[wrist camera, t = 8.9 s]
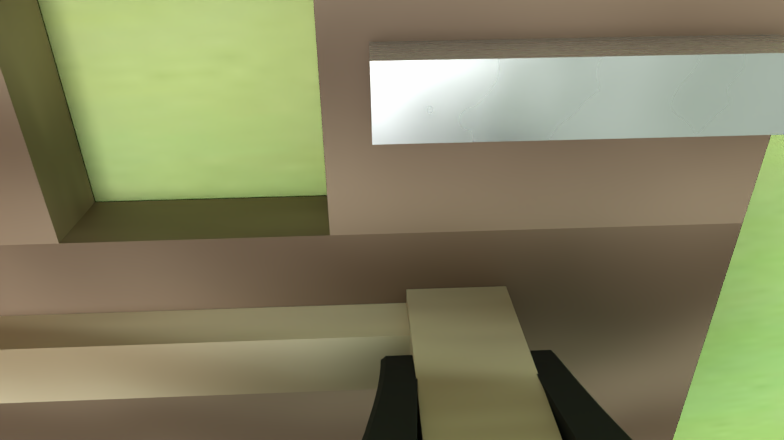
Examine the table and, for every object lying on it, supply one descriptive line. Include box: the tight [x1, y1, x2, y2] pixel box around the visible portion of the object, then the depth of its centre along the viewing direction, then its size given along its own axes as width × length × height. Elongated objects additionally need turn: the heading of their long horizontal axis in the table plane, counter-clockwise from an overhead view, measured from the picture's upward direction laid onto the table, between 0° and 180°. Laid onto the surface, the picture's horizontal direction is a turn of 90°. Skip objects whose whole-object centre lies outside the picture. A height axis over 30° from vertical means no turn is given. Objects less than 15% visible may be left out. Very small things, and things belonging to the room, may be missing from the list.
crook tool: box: [0, 286, 562, 440], centre depth 11 cm, size 7×19×6 cm, turn 90°
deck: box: [0, 0, 784, 440], centre depth 13 cm, size 20×33×8 cm, turn 91°
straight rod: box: [369, 34, 784, 145], centre depth 11 cm, size 2×8×2 cm, turn 91°
